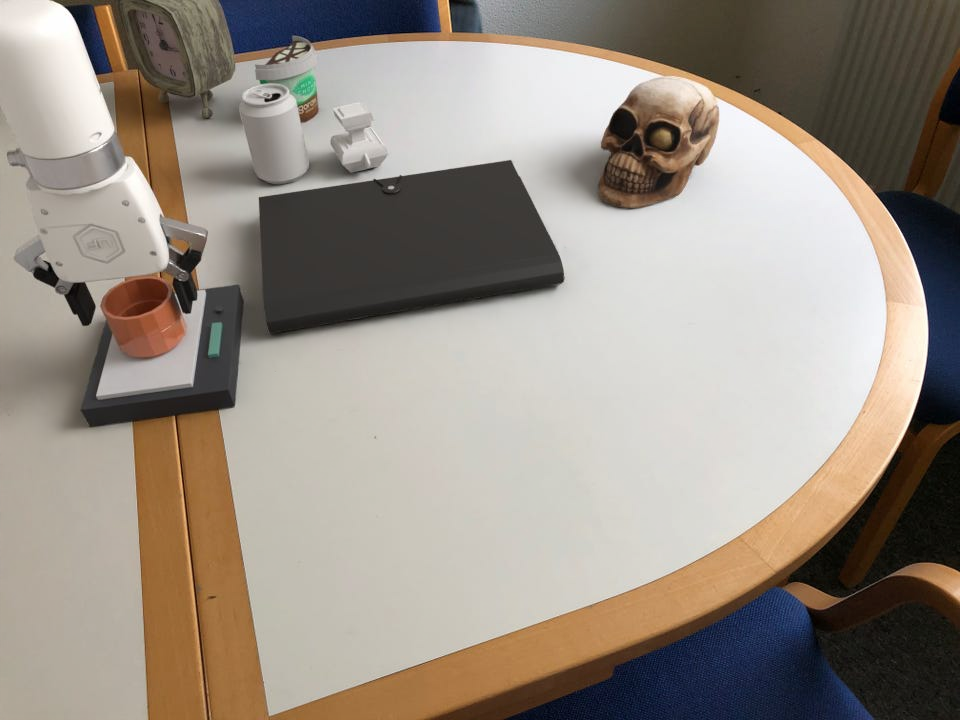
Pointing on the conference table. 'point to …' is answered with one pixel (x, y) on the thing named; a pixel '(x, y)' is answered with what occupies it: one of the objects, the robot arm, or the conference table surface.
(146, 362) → the scale
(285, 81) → the food container
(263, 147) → the can
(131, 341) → the terracotta plant pot
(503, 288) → the file folder
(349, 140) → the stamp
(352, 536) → the conference table surface
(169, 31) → the tabletop clock
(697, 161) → the beige skull model
